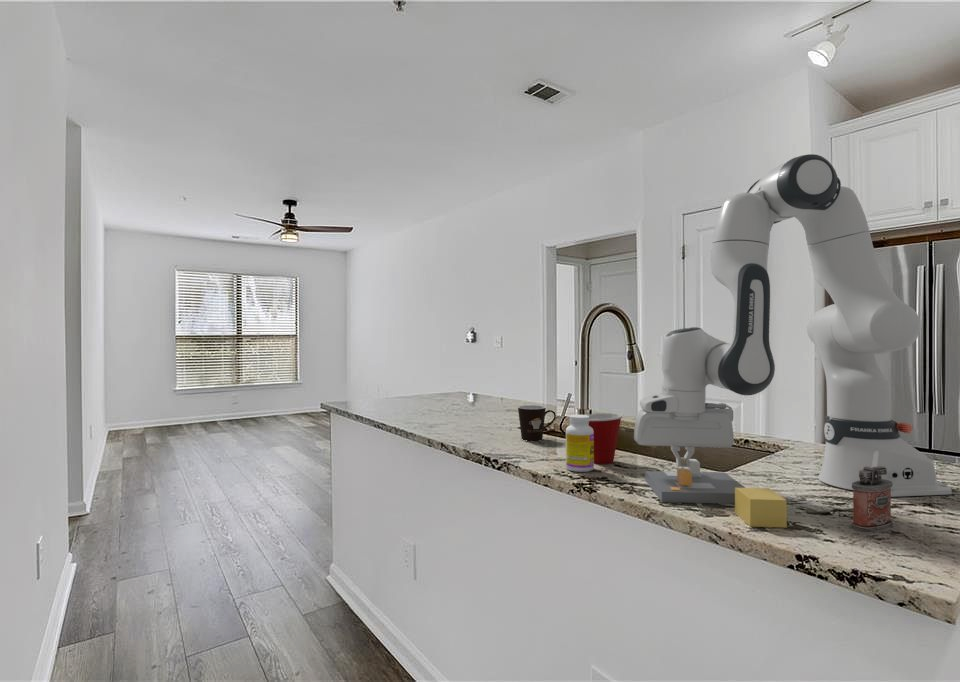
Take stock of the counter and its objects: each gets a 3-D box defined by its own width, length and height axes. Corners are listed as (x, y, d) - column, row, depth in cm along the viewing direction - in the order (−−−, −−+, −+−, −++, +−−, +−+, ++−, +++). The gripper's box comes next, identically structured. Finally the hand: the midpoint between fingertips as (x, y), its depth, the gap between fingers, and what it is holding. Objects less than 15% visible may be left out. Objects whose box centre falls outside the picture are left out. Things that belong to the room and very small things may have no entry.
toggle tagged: (687, 481, 105) (687, 468, 105) (691, 485, 102) (691, 472, 102) (677, 480, 105) (677, 468, 105) (681, 485, 102) (681, 472, 102)
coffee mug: (516, 441, 156) (516, 408, 156) (519, 436, 165) (519, 405, 165) (555, 442, 155) (555, 409, 154) (556, 437, 163) (555, 405, 163)
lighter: (868, 534, 83) (868, 472, 83) (846, 527, 86) (846, 467, 86) (898, 526, 86) (898, 467, 86) (875, 520, 89) (875, 462, 89)
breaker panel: (724, 481, 113) (724, 471, 113) (754, 504, 98) (754, 492, 98) (644, 480, 115) (644, 470, 115) (661, 502, 100) (661, 490, 100)
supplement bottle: (594, 473, 121) (593, 418, 120) (565, 472, 122) (565, 417, 122) (593, 466, 127) (593, 414, 127) (566, 465, 128) (566, 413, 128)
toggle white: (695, 470, 113) (695, 459, 113) (699, 474, 110) (699, 462, 110) (686, 470, 113) (685, 458, 113) (690, 473, 110) (690, 462, 110)
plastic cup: (584, 454, 139) (584, 410, 139) (626, 458, 134) (625, 412, 134) (574, 464, 129) (574, 416, 129) (618, 468, 125) (618, 419, 124)
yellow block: (768, 513, 93) (768, 488, 93) (786, 527, 86) (786, 500, 86) (734, 512, 93) (734, 487, 93) (750, 526, 87) (750, 499, 87)
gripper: (728, 401, 114) (727, 464, 114) (632, 399, 116) (632, 461, 116) (739, 405, 107) (738, 471, 108) (638, 403, 110) (637, 468, 110)
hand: (682, 466), depth 112 cm, fingers closed
